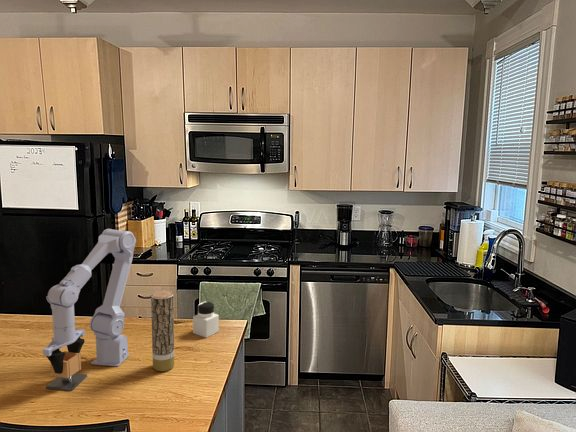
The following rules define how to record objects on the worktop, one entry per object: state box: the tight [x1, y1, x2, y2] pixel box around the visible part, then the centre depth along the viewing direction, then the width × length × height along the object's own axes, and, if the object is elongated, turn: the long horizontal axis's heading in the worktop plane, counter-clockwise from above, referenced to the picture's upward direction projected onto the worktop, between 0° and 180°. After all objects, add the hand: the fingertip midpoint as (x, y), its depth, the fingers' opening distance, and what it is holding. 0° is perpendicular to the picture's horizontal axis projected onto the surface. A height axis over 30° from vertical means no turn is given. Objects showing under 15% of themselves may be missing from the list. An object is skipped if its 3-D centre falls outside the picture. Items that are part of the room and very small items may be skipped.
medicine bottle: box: [192, 301, 220, 338], centre depth 165 cm, size 7×7×12 cm
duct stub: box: [45, 372, 88, 392], centre depth 128 cm, size 8×8×4 cm
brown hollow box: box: [50, 350, 82, 378], centre depth 127 cm, size 6×6×5 cm
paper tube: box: [150, 289, 175, 372], centre depth 137 cm, size 7×7×25 cm
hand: (66, 367), depth 127 cm, fingers closed on brown hollow box, 6 cm apart
